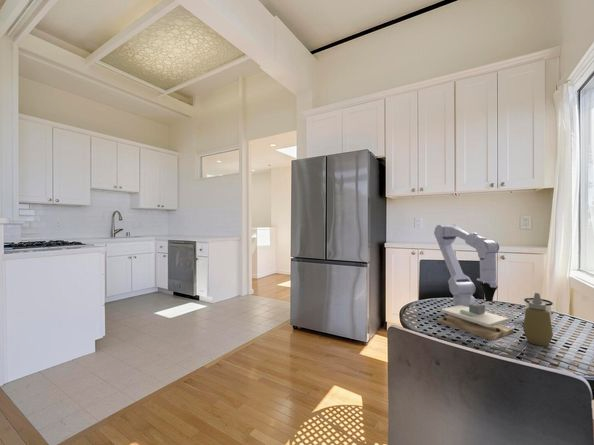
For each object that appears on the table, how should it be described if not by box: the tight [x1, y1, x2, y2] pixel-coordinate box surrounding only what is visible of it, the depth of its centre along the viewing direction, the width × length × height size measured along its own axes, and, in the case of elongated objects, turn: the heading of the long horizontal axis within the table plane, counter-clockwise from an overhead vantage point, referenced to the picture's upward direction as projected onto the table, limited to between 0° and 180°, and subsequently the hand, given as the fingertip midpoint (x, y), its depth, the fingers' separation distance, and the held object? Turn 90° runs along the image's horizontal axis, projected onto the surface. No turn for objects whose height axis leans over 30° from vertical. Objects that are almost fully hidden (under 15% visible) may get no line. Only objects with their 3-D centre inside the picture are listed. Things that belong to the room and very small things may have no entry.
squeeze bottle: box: [522, 292, 554, 347], centre depth 100 cm, size 8×8×18 cm
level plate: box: [440, 302, 510, 327], centre depth 116 cm, size 13×20×4 cm, turn 26°
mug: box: [523, 297, 554, 320], centre depth 120 cm, size 12×10×9 cm
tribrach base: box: [437, 314, 514, 341], centre depth 116 cm, size 15×22×4 cm
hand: (488, 301), depth 116 cm, fingers closed
